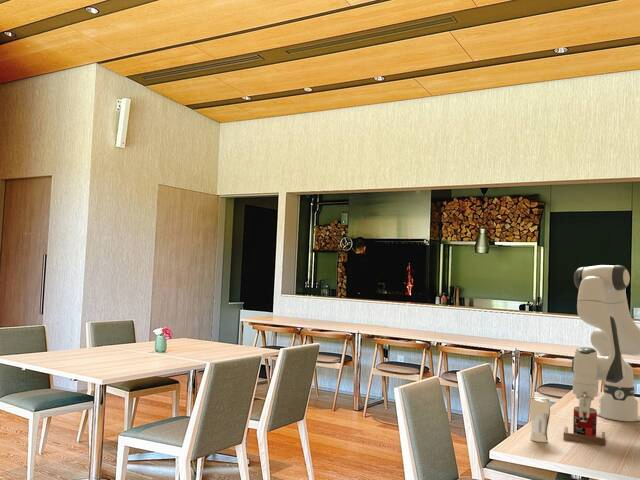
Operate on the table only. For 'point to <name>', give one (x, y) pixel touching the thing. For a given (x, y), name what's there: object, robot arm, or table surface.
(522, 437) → the table surface
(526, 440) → the table surface
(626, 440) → the table surface
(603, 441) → the open wooden square
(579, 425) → the canned food
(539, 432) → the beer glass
